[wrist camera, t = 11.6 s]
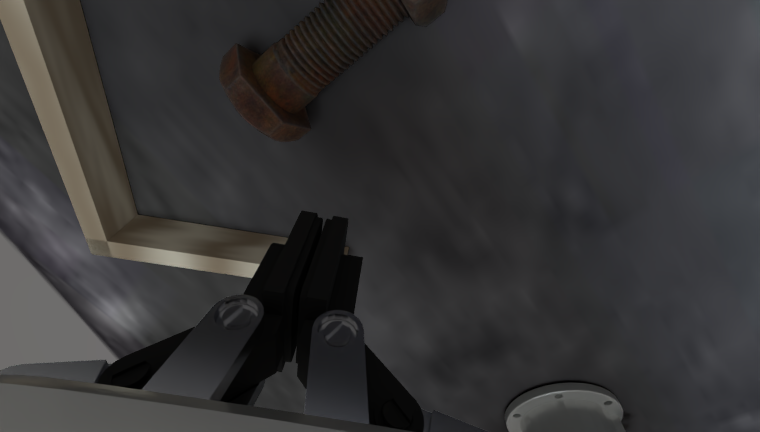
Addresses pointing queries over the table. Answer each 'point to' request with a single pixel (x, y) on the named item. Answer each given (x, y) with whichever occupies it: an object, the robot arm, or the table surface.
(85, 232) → the bay
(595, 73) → the table surface
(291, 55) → the bolt
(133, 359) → the robot arm
